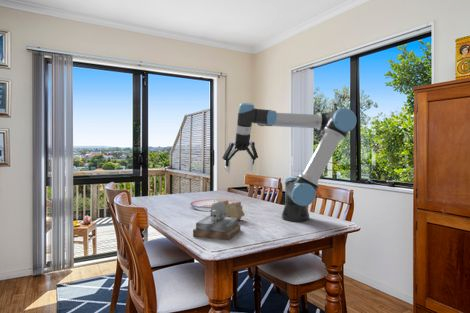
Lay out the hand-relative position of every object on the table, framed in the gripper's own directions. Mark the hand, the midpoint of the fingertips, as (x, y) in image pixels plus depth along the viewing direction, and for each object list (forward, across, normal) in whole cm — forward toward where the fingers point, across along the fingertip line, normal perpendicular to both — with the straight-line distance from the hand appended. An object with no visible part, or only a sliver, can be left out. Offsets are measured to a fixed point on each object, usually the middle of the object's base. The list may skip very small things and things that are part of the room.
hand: (239, 171), depth 170 cm
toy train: (+27, -5, -4) cm, 28 cm away
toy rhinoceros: (+14, -21, -23) cm, 34 cm away
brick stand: (+19, -21, -25) cm, 38 cm away
